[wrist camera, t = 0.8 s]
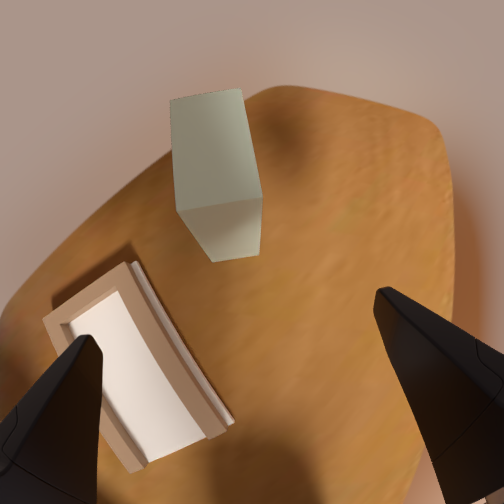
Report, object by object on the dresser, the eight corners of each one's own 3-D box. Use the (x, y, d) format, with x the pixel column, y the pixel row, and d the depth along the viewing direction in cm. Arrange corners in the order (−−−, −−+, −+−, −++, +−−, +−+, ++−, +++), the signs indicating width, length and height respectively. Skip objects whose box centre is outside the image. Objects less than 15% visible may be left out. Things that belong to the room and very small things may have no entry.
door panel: (259, 254, 23) (262, 196, 12) (212, 262, 23) (176, 211, 12) (246, 181, 24) (240, 87, 13) (202, 189, 24) (169, 100, 13)
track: (234, 420, 20) (233, 427, 18) (133, 466, 19) (125, 475, 17) (138, 262, 23) (129, 257, 21) (50, 322, 22) (38, 321, 20)
